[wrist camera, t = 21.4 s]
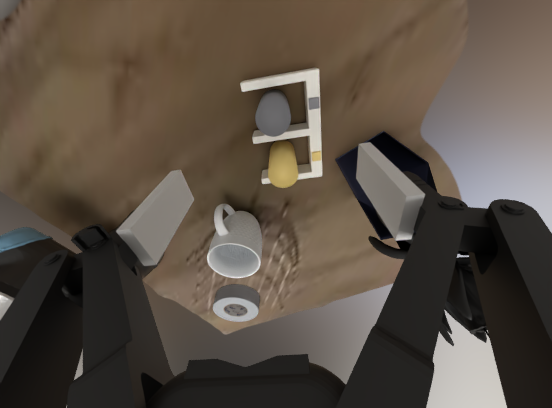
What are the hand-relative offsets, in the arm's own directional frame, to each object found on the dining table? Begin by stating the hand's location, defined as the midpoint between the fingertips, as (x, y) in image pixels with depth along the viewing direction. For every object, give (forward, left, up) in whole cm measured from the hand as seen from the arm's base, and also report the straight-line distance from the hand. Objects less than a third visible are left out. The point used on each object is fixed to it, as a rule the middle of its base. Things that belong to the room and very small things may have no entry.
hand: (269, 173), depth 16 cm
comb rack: (+2, -4, -27) cm, 27 cm away
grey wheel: (-23, -60, -27) cm, 69 cm away
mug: (-13, -24, -27) cm, 38 cm away
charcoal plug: (0, 0, -27) cm, 27 cm away
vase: (+17, -14, -27) cm, 35 cm away
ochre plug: (0, -9, -27) cm, 28 cm away
